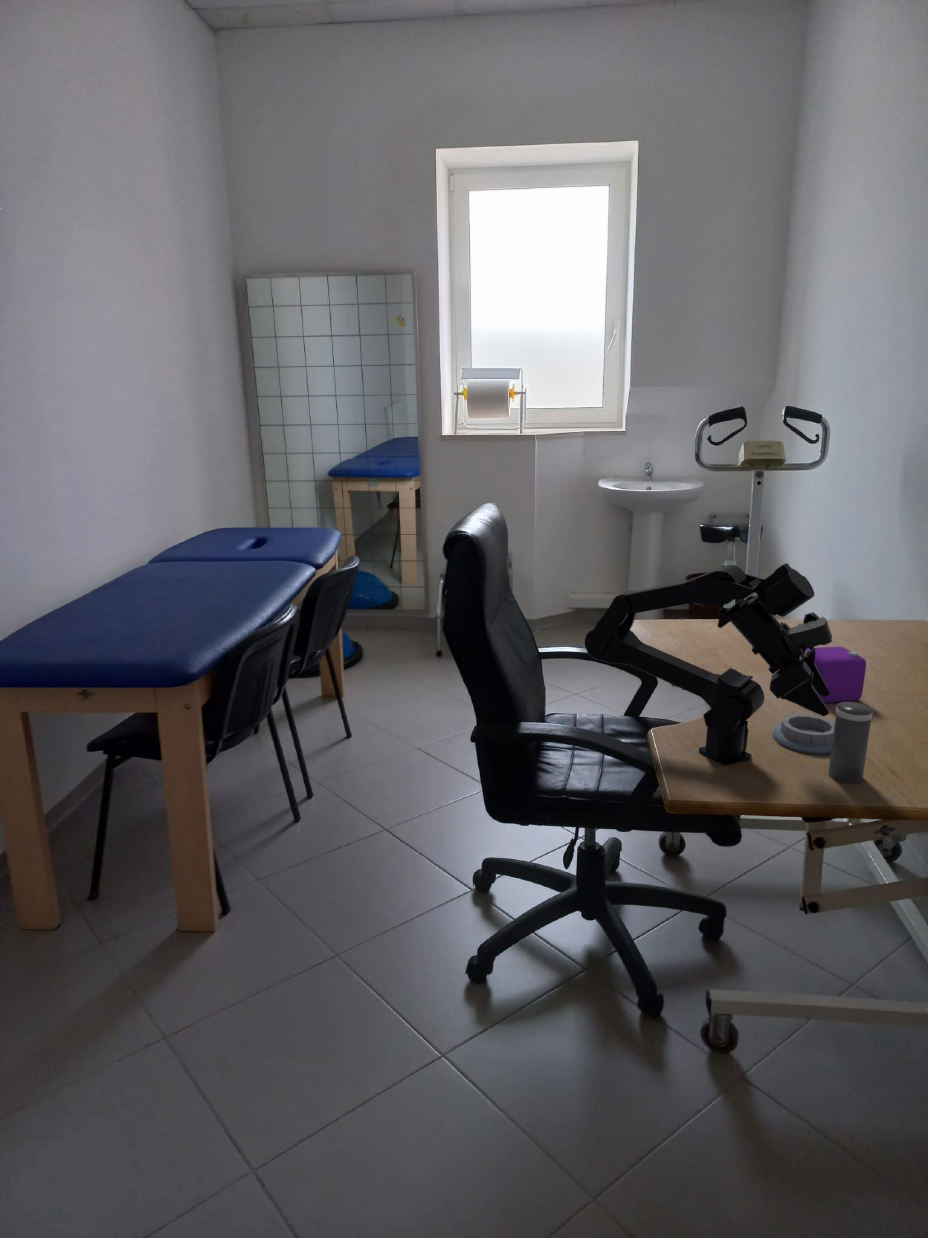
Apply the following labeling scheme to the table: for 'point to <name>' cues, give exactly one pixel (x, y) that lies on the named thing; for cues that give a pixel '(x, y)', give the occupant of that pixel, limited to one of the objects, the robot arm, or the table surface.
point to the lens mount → (805, 733)
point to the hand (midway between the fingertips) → (827, 704)
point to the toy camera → (840, 673)
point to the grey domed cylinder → (850, 742)
